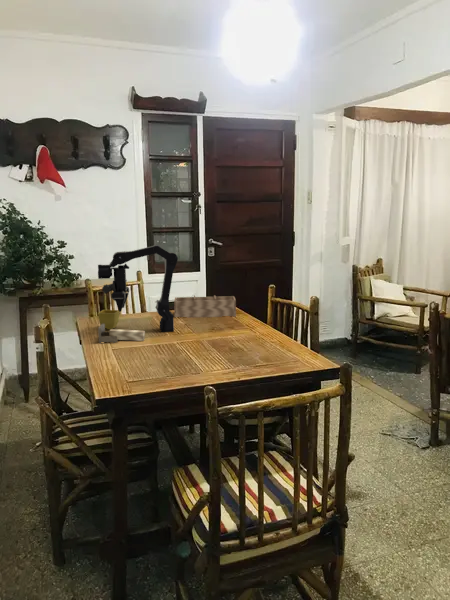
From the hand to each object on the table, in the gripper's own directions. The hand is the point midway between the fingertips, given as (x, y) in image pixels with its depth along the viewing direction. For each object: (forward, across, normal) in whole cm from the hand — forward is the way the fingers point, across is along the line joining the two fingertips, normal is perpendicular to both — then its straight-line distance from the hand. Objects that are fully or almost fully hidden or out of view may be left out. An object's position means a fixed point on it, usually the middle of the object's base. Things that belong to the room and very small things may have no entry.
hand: (121, 309), depth 241 cm
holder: (+12, -40, +42) cm, 59 cm away
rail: (+12, +13, +4) cm, 18 cm away
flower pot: (+12, -11, -8) cm, 18 cm away
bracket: (+12, +13, -4) cm, 18 cm away
